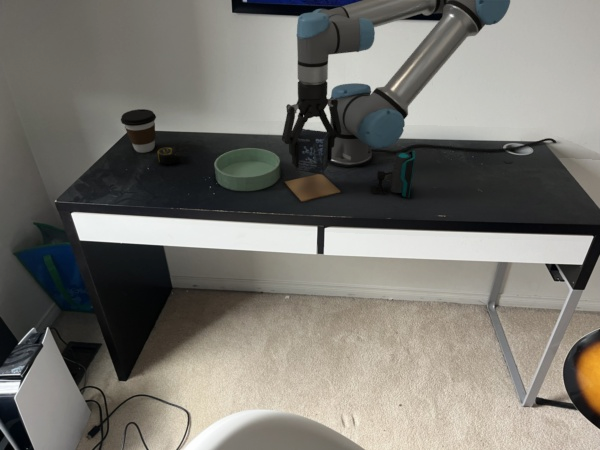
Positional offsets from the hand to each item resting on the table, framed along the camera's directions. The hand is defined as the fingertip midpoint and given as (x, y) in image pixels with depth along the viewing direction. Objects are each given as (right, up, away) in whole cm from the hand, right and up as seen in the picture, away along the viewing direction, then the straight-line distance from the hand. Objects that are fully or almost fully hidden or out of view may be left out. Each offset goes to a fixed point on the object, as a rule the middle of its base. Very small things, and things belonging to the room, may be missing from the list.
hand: (311, 161), depth 131 cm
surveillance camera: (+22, -8, +2) cm, 24 cm away
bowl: (-19, -3, +11) cm, 22 cm away
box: (0, -2, +1) cm, 2 cm away
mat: (0, -7, +5) cm, 8 cm away
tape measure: (-44, +3, +20) cm, 49 cm away
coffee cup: (-55, +8, +28) cm, 62 cm away
